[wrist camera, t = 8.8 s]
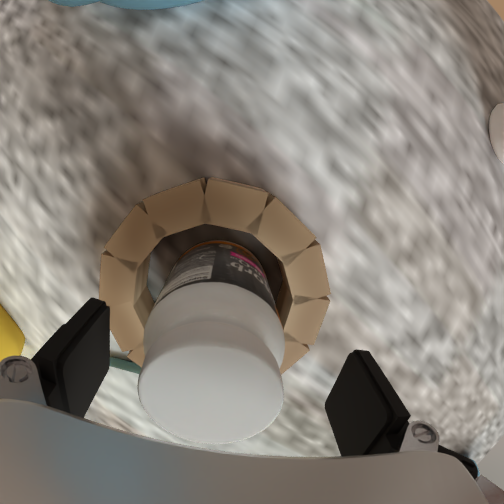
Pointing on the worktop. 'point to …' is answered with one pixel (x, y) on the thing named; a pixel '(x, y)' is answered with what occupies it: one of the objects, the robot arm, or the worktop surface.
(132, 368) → the green stick
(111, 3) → the teapot
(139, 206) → the segmented tan ring
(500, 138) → the cup
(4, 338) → the teapot
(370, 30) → the worktop surface
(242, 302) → the pill bottle
